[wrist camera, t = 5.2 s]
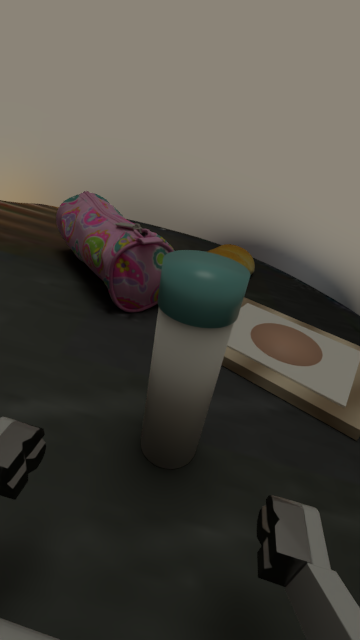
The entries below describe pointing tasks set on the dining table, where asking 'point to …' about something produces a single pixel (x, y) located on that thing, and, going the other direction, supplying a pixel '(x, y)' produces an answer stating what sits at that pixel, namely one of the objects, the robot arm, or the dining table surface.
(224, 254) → the bread roll
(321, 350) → the picture frame
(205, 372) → the marker
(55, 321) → the dining table surface
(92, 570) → the dining table surface
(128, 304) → the pencil case
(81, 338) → the dining table surface
